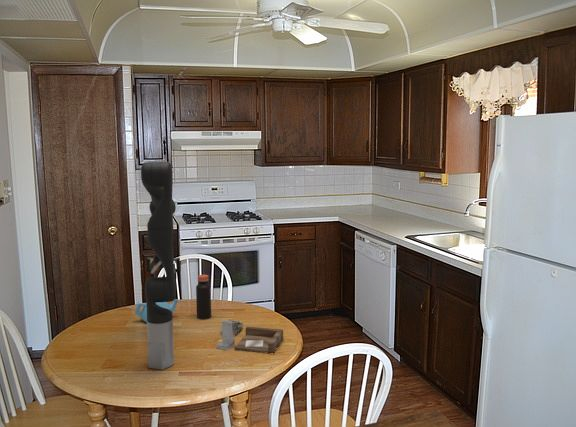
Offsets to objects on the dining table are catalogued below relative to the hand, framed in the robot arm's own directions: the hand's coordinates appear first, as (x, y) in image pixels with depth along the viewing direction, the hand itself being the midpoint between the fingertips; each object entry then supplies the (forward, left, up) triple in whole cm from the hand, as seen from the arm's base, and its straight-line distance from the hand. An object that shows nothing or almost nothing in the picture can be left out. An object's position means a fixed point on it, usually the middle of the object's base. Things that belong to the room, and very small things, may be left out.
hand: (163, 280), depth 226 cm
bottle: (+20, -10, -23) cm, 31 cm away
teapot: (+12, +10, -23) cm, 27 cm away
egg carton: (+6, -29, -23) cm, 37 cm away
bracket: (-11, -32, -22) cm, 41 cm away
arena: (-5, -45, -22) cm, 50 cm away
